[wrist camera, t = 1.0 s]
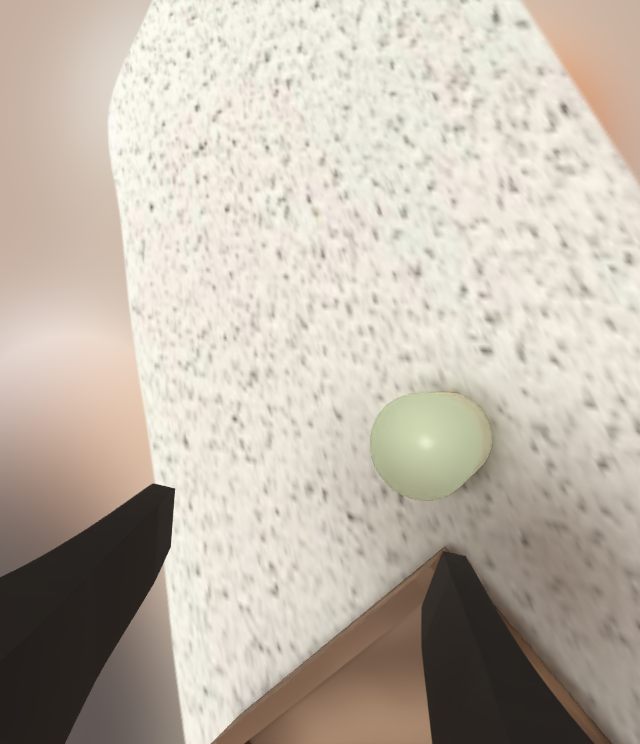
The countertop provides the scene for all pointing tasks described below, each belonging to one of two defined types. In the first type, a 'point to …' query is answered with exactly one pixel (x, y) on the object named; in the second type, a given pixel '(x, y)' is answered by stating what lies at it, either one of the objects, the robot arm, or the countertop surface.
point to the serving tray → (369, 683)
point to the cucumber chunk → (429, 443)
